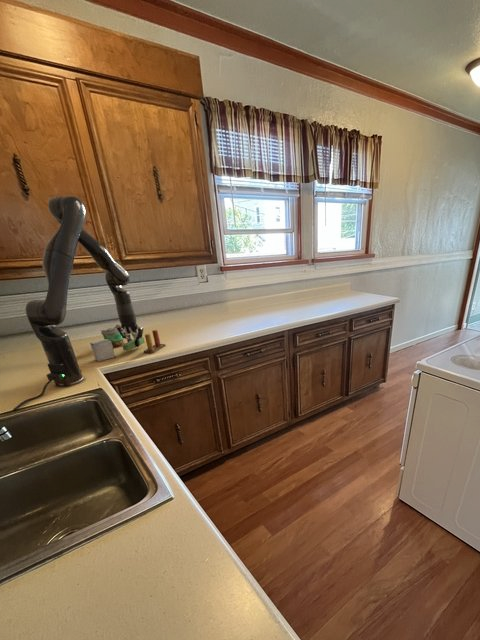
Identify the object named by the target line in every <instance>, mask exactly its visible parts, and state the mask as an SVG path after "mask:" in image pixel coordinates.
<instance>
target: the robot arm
mask: <svg viewBox="0 0 480 640" xmlns="http://www.w3.org/2000/svg"><path fill="white" fill-rule="evenodd" d="M47 206H48V210H49V213H50V214H51V216H52V217H53V218H54V219H55V220H56V222H57V223H58V224H59V225H60V226H59V228H58V229H57V231H56V232H55V233H54V234H53V236H52V237H51V238H50V239H49V240H48V242H47V244H46V246H45V248H44V251H43V255H42V262H41V264H42V270H43V273H44V276H45V278H46V280H47V290H46V291H47V292H46V295H45V298H44V299H32V300H29V301H28V302H27V303H26V305H25V314H26V318H27V320H28V322H29V323H28V324H29V325H30V327H31V329H32V331H33V333H34V336H35V337H36V338H37V339H38V340H39V341H40V344H41V346H42V349H43V351H44V353H45V356H46V359H47V361H48V363H47V367H48V370H49V373H47V374H46V378H47V380H48V381H47V382H46V383H45V384H44V386H43V388H42V391H41V393H40V394H38V395H37V396H33V397H30V398H27V399H25V400H24V401H22V402H20V403H18V404H17V405H16V407H14V408H13V411H17V410H18V409H19V408H20V407H21V406H23V405H24V404H26V403H27V402H30V401H32V400H36V399H38V398H41V397H42V396H43V395H44V394H45V393H46V391H47V390H46V389H47V387H48V386H49V385H50V384H51V382H52V381H53V382H54V385H55V386H58V387H70V386H73V385H76V384H80V383H82V382H83V381H84V379H85V378H84V376H83V372H82V369H81V368H80V365H79V361H78V359H77V356H76V354H75V351H74V348H73V345H72V342H71V340H70V337H69V334H68V333H67V331H66V332H65V331H64V330H62V329H60V328H59V327H58V326H60V325H61V324H63V322H64V321H65V319H66V315H67V308H68V307H67V305H68V294H69V293H68V292H69V286H70V281H71V275H72V271H73V267H74V262H75V257H76V253H77V252H76V251H77V248H78V244H79V245H81V246H82V247H83V249H84V250H85V251H86V252H87V253H88V254H89V256H90V257H91V258H92V260H93V261H94V262H95V264H97V266H98V267H99V268H100V269H101V270H103V271H106V272H105V274H104V278H105V282H106V285H107V286H108V288H109V290H110V292H111V293H112V295H113V298H114V302H115V306H116V312H117V316H118V320H119V323H120V327H118V328H117V330H118V331H119V333H120V334H121V336H122V337H123V339H125V340H126V343H127V342H129V341H131V340H134V342H135V345H136V348H138V347H140V346H141V345H140V343H139V339H140V338H142V337H143V333H144V327H143V326H141V327H140V326H139V325H138V323H137V317H136V312H135V308H134V305H133V302H132V298H131V295H130V292H129V291H128V290H126V289H124V288H123V287H124V286H128V285H129V284H130V282H131V281H130V280H131V279H130V275H129V273H128V271H127V270H126V269H125V268H124V267H122V265H121V264H119V262H118V261H116V260H115V259H114V258H113V256H112V255H111V253H110V252H109V251H108V249H107V248H106V247H105V246H104V245H103V244H102V243H101V242H100V241H99V240H98V239H97V238H95V237H94V236H92V235H91V234H90V233H89V232H87V231H86V230H85V229H84V224H85V221H86V217H87V216H86V215H87V210H86V207H85V204H84V203H83V201H82V200H81V199H80V198H79V197H77V196H73V195H61V196H54V197H51V198H50V199H49V200H48V202H47ZM132 337H133V339H132Z"/></svg>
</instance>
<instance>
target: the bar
mask: <svg viewBox="0 0 480 640" xmlns="http://www.w3.org/2000/svg"><path fill="white" fill-rule="evenodd" d="M139 343H140V345H139V346H142V345H143V344H145V343H146V340H145V336H142V338H140V339H139ZM121 347H122V350H123V351H124V352H130V351H132V350H134V349H135V348H137V347H136V345H135V342H134V339H132V340H131V341H129V342H127V341H126V342H124V344H123V345H122V346H121Z"/></svg>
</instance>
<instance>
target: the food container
mask: <svg viewBox="0 0 480 640" xmlns="http://www.w3.org/2000/svg"><path fill="white" fill-rule="evenodd" d="M120 326H121V324H115V326H114V327H110V328H108V329H105V330H104V329H103V330H100V334H101V335H102V336H103V340H104V339H108V340H110V341H111V343H112V347H113V349H116V348H120V347H122V345H123V344H125V342H124V338H123V337H122V336H121V334H120V333H119V331H118V330H117V328H118V327H120Z"/></svg>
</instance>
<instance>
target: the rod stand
mask: <svg viewBox="0 0 480 640" xmlns="http://www.w3.org/2000/svg"><path fill="white" fill-rule="evenodd" d="M151 332H152V336H153V339H152V336H151V334H150V333H145V334H144V339H145V343H146V346H147V348H146V349H145V350H144V351H143V352H144V354H155V353H156V352H158V351H159V350H161V349H162V348H164V347H166V344H165V343H161V339H160V336H159V331H158V330H157V329H154V330H152V331H151ZM153 340H154V344H153Z"/></svg>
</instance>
